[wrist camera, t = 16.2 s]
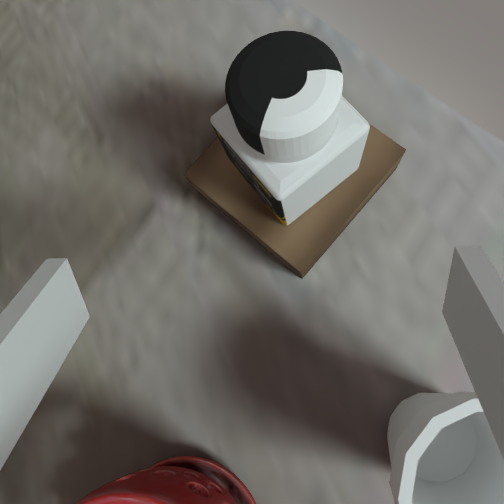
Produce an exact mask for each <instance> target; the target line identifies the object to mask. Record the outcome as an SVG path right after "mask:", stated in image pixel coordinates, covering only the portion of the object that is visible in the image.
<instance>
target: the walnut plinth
mask: <svg viewBox="0 0 504 504" xmlns="http://www.w3.org/2000/svg"><path fill="white" fill-rule="evenodd" d="M369 125H370V124H369ZM405 151H406V149H404V148H403V147H401V146H400V145H399V144H397V143H396V142H394V141H393V140H392V139H390V138H389V137H387V136H386V135H384V134H383V133H382V132H380V131H379V130H377V129H376V128H375V127H373V126H372V125H370V129H369V133H368V136H367V140H366V143H365V147H364V150H363V154H362V157H361V161H360V164H359V168H358V169H357V170H356V171H355V172H354V173H352V174H351V175H350V176H349V177H347V178H346V179H345V180H344V181H342V182H341V183H340V184H339V185H338V186H336V187H335V188H334V189H333V190H331V191H330V192H329V193H328V194H326V195H325V196H324V197H323V198H321V199H320V200H319V201H318V202H317V203H315V204H314V205H313V206H312V207H310V208H309V209H308V210H307V211H305V212H304V213H303V214H302V215H300V216H299V217H298V218H297V219H295V220H294V221H293V222H292V223H291V224H289V225H284V224H282V222H281V221H280V220H279V219H278V218H277V216H276V215H275V214H274V213H273V212H272V211H271V209H270V208H269V207H268V206H267V205H266V203H265V202H264V201H263V200H262V199H261V198H260V196H259V195H258V194H257V193H256V192H255V190H254V189H253V188H252V187H251V186H250V184H249V183H248V182H247V181H246V180H245V179H244V177H243V176H242V175H241V174H240V173H239V171H238V170H237V169H236V168H235V167H234V166H233V164H232V163H231V162H230V160H229V158H228V156H227V154H226V152H225V150H224V148H223V146H222V144H221V142H220V140H219V138H218V137H217V138H216V139H215V140H214V141H213V142H212V143H211V144H210V146H209V147H208V148H207V149H206V150H205V151H204V152H203V154H202V155H201V156H200V157H199V158H198V159H197V160H196V162H195V163H194V164H193V165H192V166H191V167H190V168H189V169H188V171H187V172H186V173H185V174H184V176H185V177H186V178H187V179H188V181H189V182H190V183H191V184H192V185H193V186H194V188H195V189H196V190H197V191H198V192H199V193H200V194H202V195H203V196H204V197H205V198H206V199H208V200H209V201H210V202H211V203H212V204H214V205H215V206H216V207H217V208H218V209H220V210H221V211H222V212H223V213H224V214H226V215H227V216H228V217H229V218H230V219H231V220H233V221H234V222H235V223H236V224H237V225H239V226H240V227H241V228H242V229H243V230H245V231H246V232H247V233H248V234H249V235H251V236H252V237H253V238H254V239H255V240H257V241H258V242H259V243H260V244H261V245H263V246H264V247H265V248H266V249H267V250H269V251H270V252H271V253H272V254H273V255H274V256H276V257H277V258H278V259H279V260H280V261H282V262H283V263H284V264H285V265H286V266H288V267H289V268H290V269H291V270H292V271H294V272H295V273H296V274H297V275H298V276H300V277H301V278H303V277H304V276H305V275H306V274H307V273H308V271H309V270H310V269H311V268H312V267H313V266H314V264H315V263H316V262H317V261H318V260H319V258H320V257H321V256H322V255H323V254H324V253H325V251H326V250H327V249H328V248H329V247H330V246H331V244H332V243H333V242H334V241H335V240H336V239H337V237H338V236H339V235H340V234H341V233H342V232H343V230H344V229H345V228H346V227H347V226H348V225H349V223H350V222H351V221H352V220H353V219H354V218H355V216H356V215H357V214H358V213H359V212H360V210H361V209H362V208H363V207H364V206H365V205H366V203H367V202H368V201H369V200H370V199H371V198H372V196H373V195H374V194H375V193H376V192H377V191H378V189H379V188H380V187H381V186H382V185H383V184H384V182H385V181H386V180H387V179H388V178H389V177H390V175H391V174H392V173H393V172H394V171H395V170H396V168H397V166H398V164H399V162H400V160H401V158H402V156H403V155H404V153H405Z"/></svg>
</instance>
